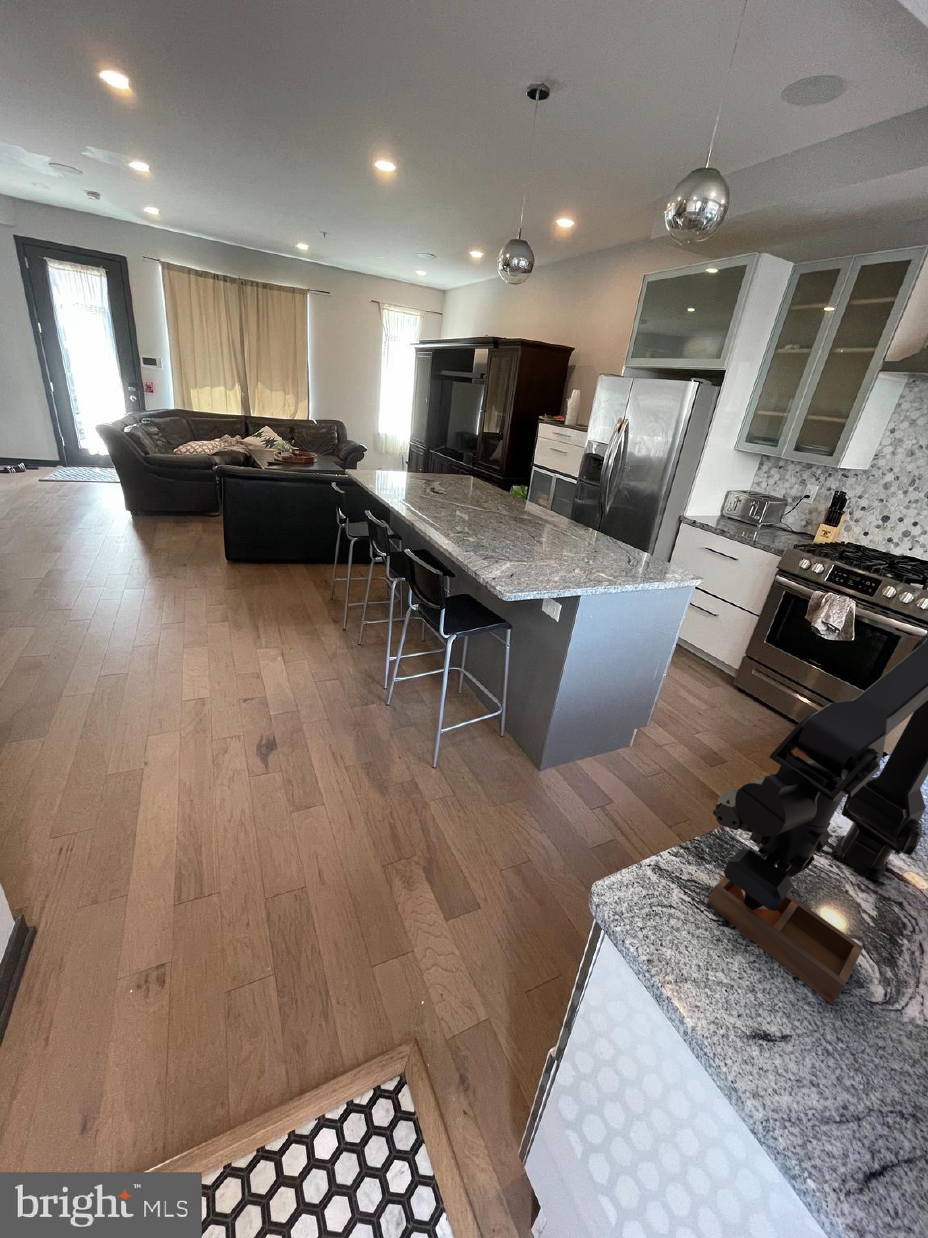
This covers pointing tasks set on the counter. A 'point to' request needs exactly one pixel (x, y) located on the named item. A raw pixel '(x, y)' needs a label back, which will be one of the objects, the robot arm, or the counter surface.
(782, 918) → the egg rack
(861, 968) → the counter surface
